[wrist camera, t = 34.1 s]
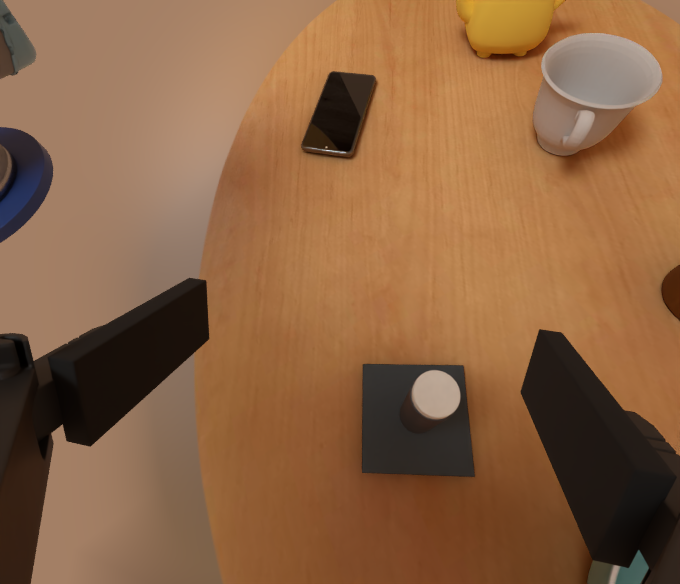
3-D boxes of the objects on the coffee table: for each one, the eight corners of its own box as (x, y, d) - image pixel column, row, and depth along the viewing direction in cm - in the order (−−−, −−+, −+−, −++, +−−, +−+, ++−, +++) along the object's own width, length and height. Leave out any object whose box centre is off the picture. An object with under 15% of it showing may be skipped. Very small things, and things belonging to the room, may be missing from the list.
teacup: (495, 176, 48) (524, 109, 39) (523, 98, 53) (554, 23, 44) (597, 204, 45) (653, 139, 36) (616, 119, 51) (669, 43, 42)
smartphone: (376, 74, 56) (352, 154, 50) (376, 81, 57) (352, 160, 51) (329, 70, 58) (298, 147, 51) (329, 76, 58) (300, 153, 52)
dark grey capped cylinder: (398, 434, 36) (412, 418, 24) (397, 399, 37) (410, 368, 25) (433, 435, 35) (464, 420, 24) (431, 400, 37) (459, 368, 25)
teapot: (437, 67, 57) (451, -14, 48) (433, 22, 62) (445, -60, 52) (562, 62, 56) (602, -23, 46) (549, 16, 60) (583, -70, 51)
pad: (362, 472, 35) (362, 472, 35) (363, 365, 39) (362, 363, 39) (472, 476, 34) (474, 476, 34) (461, 367, 39) (463, 365, 38)
